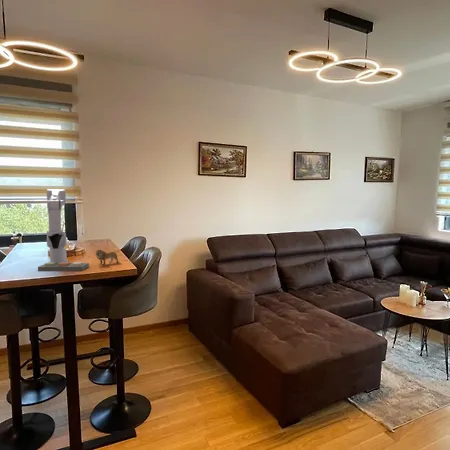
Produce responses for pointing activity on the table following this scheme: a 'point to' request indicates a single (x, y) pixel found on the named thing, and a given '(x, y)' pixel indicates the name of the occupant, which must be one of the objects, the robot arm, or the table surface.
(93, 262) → the table surface
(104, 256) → the lion figurine
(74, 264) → the cream button
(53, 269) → the button panel
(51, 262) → the sage button
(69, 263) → the terracotta button
